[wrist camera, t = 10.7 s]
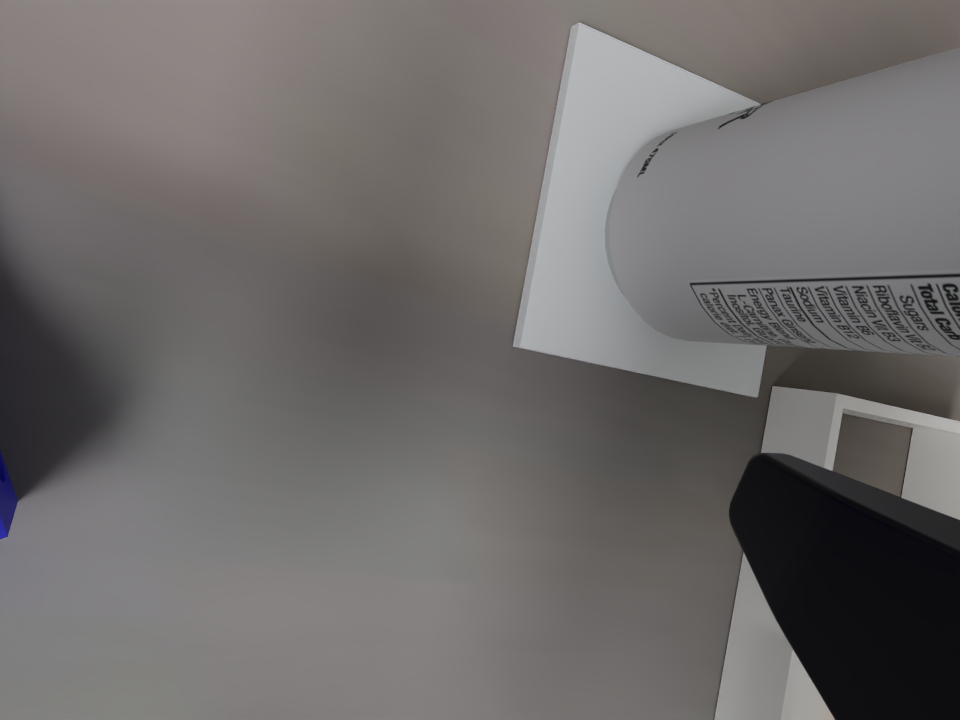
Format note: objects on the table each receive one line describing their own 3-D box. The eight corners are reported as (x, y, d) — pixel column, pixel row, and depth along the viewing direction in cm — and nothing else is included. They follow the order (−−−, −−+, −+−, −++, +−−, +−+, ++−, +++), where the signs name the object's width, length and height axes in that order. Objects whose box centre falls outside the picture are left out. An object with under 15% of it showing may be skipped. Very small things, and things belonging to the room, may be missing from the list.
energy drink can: (764, 173, 25) (1546, 24, 12) (724, 359, 25) (1479, 422, 12) (614, 103, 22) (1412, -193, 9) (567, 312, 22) (1321, 321, 9)
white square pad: (748, 396, 26) (757, 397, 26) (512, 346, 22) (520, 347, 21) (795, 126, 26) (805, 124, 26) (571, 26, 22) (579, 22, 22)
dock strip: (831, 949, 30) (909, 1015, 27) (666, 990, 26) (737, 1072, 23) (921, 419, 30) (1006, 430, 27) (772, 385, 26) (853, 395, 24)
